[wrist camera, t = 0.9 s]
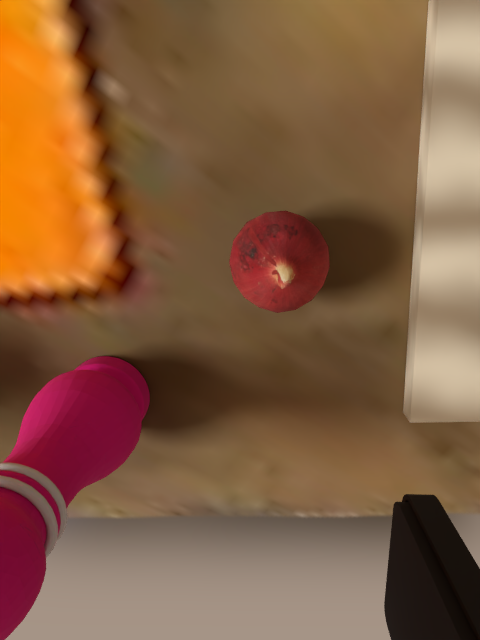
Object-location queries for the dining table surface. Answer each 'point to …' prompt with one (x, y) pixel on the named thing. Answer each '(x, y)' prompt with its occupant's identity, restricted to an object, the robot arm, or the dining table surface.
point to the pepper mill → (61, 468)
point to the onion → (279, 261)
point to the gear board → (447, 225)
